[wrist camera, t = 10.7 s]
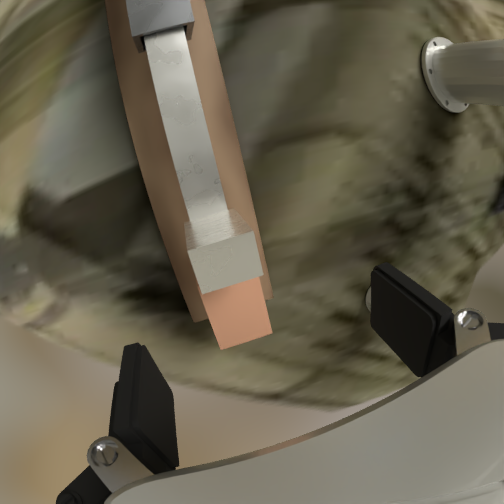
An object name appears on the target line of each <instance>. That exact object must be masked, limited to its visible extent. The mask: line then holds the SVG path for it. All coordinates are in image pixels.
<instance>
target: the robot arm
mask: <svg viewBox="0 0 504 504" xmlns="http://www.w3.org/2000/svg"><path fill="white" fill-rule="evenodd" d="M422 69H423V74H424V78H425V81H426V83H427V86H428V88H429V90H430V92H431V94H432V96H433V97H434V99H435V100H436V102H437V103H438V104H439V105H440V106H441V107H442V108H444V109H445V110H447V111H449V112H462V111H464V110H465V109H466V108H467V107H468V105H469V104H485V105H497V106H504V39H498V40H485V41H474V42H466V43H458V44H453V43H452V42H451V41H449V40H448V39H445V38H443V37H435V38H431V39H429V40H428V41H427V42H426V43H425V45H424V47H423V50H422ZM371 326H372V328H373V329H374V330H375V331H376V333H377V334H378V335H379V336H380V337H381V338H382V339H383V340H384V341H385V342H386V343H387V344H388V345H389V347H390V348H391V349H392V350H393V351H394V352H395V353H396V354H397V355H398V356H399V357H400V359H401V360H402V361H403V362H404V363H405V364H406V365H407V366H408V367H409V368H410V370H411V371H412V372H413V373H414V374H415V375H416V376H417V377H421V378H420V379H419V380H417V381H415V382H414V383H412V384H410V385H408V386H407V387H405V388H403V389H401V390H400V391H398V392H396V393H394V394H392V395H391V396H389V397H387V398H385V399H383V400H381V401H379V402H377V403H375V404H373V405H371V406H369V407H367V408H365V409H363V410H361V411H359V412H357V413H354V414H352V415H350V416H348V417H346V418H344V419H342V420H339V421H337V422H334V423H332V424H330V425H327V426H325V427H322V428H320V429H318V430H315V431H312V432H310V433H307V434H304V435H302V436H299V437H296V438H294V439H291V440H288V441H285V442H282V443H279V444H276V445H273V446H270V447H267V448H264V449H260V450H257V451H253V452H250V453H246V454H243V455H239V456H235V457H232V458H228V459H223V460H219V461H215V462H212V463H207V464H202V465H198V466H193V467H188V468H183V469H178V470H176V468H175V467H178V466H179V458H178V448H177V437H176V426H175V414H174V399H173V393H172V391H171V389H170V387H169V385H168V384H167V382H166V380H165V379H164V377H163V376H162V374H161V372H160V371H159V369H158V367H157V365H156V364H155V362H154V360H153V359H152V357H151V355H150V353H149V351H148V350H147V348H146V346H145V345H142V346H141V345H140V344H139V343H134V344H130V345H126V346H124V350H123V356H122V362H121V369H120V376H119V381H118V382H116V383H115V386H114V392H113V400H112V408H111V416H110V425H109V435H108V436H105V437H101V438H99V439H97V440H95V441H94V442H93V443H92V444H91V446H90V448H89V449H88V453H87V460H88V463H89V466H88V467H87V468H86V469H85V470H84V471H83V472H82V473H81V474H80V475H79V476H78V477H77V478H76V479H75V480H74V481H72V482H71V483H70V484H69V485H68V486H67V487H66V488H65V489H64V490H63V491H62V492H61V493H60V494H59V495H58V497H57V500H56V504H504V323H487V320H486V317H485V316H484V315H483V314H482V313H481V312H480V311H478V310H475V309H472V308H465V309H461V310H459V311H458V312H456V314H455V315H454V314H453V313H452V309H451V308H450V307H448V306H447V305H446V304H444V303H443V302H442V301H440V300H439V299H438V298H436V297H435V296H434V295H432V294H431V293H430V292H428V291H427V290H426V289H424V288H423V287H422V286H420V285H419V284H417V283H416V282H415V281H413V280H412V279H411V278H409V277H408V276H406V275H405V274H403V273H402V272H401V271H399V270H398V269H396V268H395V267H394V266H392V265H391V264H389V263H387V262H385V263H383V264H380V265H378V266H375V267H374V269H373V271H372V272H371Z"/></svg>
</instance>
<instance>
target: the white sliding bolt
mask: <svg viewBox="0 0 504 504" xmlns="http://www.w3.org/2000/svg"><path fill="white" fill-rule="evenodd" d="M144 41H145V45H146V50H147V55H148V60H149V64H150V69H151V73H152V78H153V82H154V87H155V91H156V95H157V100H158V104H159V108H160V112H161V116H162V120H163V124H164V128H165V132H166V136H167V140H168V144H169V147H170V151H171V155H172V159H173V162H174V166H175V170H176V173H177V177H178V181H179V184H180V188H181V191H182V195H183V198H184V202H185V205H186V209H187V212H188V215H189V219H190V221H189V222H185V223H184V228H185V236H186V244H187V252H188V255H189V258H190V261H191V264H192V267H193V269H194V272H195V275H196V278H197V281H198V284H199V287H200V290H201V293H202V294H205V293H208V292H212V291H215V290H218V289H221V288H225V287H228V286H231V285H234V284H237V283H240V282H244V281H247V280H250V279H253V278H256V277H259V276H262V275H264V274H263V270H262V266H261V261H260V257H259V253H258V248H257V244H256V240H255V235H254V231H253V230H252V229H251V227H250V226H249V225H248V224H247V223H246V222H245V220H244V219H243V218H242V217H241V216H240V215H239V213H238V212H237V211H236V210H235V209H234V208H233V209H229V210H228V209H227V205H226V201H225V197H224V193H223V189H222V185H221V181H220V177H219V173H218V169H217V165H216V161H215V157H214V153H213V149H212V145H211V141H210V137H209V133H208V129H207V125H206V120H205V116H204V112H203V108H202V104H201V100H200V96H199V91H198V87H197V83H196V79H195V75H194V70H193V66H192V62H191V58H190V53H189V49H188V45H187V40H186V36H185V32H184V27H183V26H180V27H175V28H171V29H167V30H163V31H159V32H155V33H151V34H148V35H144Z"/></svg>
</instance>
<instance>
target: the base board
mask: <svg viewBox="0 0 504 504" xmlns="http://www.w3.org/2000/svg"><path fill="white" fill-rule="evenodd" d="M190 3H191V8H192V12H193V16H194V20H195V22H194V27H193V32H192V38H191V40H189V41H187V45H188V49H189V53H190V58H191V62H192V66H193V70H194V75H195V79H196V83H197V87H198V91H199V96H200V100H201V104H202V108H203V112H204V116H205V120H206V125H207V129H208V133H209V137H210V141H211V145H212V149H213V153H214V157H215V161H216V165H217V169H218V173H219V177H220V181H221V185H222V189H223V193H224V197H225V201H226V205H227V209H228V210H229V209H233V208H234V209H235V210H236V211H237V212H238V213H239V215H240V216H241V217H242V218H243V219H244V220H245V222H246V223H247V224H248V225H249V226H250V227H251V229H252V230H253V231H254V235H255V240H256V244H257V248H258V253H259V257H260V261H261V266H262V270H263V274H264V275H262V276H259V279H260V283H261V287H262V291H263V295H264V300H268V299H271V298H274V297H273V293H272V288H271V284H270V279H269V274H268V270H267V265H266V261H265V256H264V252H263V247H262V243H261V238H260V234H259V229H258V225H257V220H256V216H255V211H254V207H253V203H252V198H251V194H250V189H249V185H248V181H247V176H246V172H245V168H244V163H243V159H242V155H241V150H240V146H239V142H238V137H237V133H236V129H235V125H234V120H233V116H232V112H231V108H230V103H229V99H228V95H227V91H226V87H225V82H224V78H223V74H222V70H221V66H220V62H219V58H218V53H217V49H216V45H215V41H214V37H213V33H212V29H211V25H210V21H209V17H208V13H207V9H206V5H205V1H204V0H190ZM105 5H106V12H107V19H108V26H109V32H110V38H111V44H112V50H113V55H114V60H115V66H116V71H117V76H118V80H119V85H120V90H121V94H122V99H123V103H124V107H125V112H126V116H127V120H128V124H129V128H130V132H131V136H132V140H133V143H134V147H135V151H136V154H137V158H138V162H139V165H140V169H141V172H142V176H143V179H144V182H145V186H146V189H147V192H148V196H149V199H150V202H151V205H152V208H153V212H154V215H155V218H156V221H157V224H158V227H159V230H160V233H161V236H162V239H163V242H164V245H165V247H166V250H167V253H168V256H169V259H170V262H171V264H172V267H173V270H174V273H175V275H176V278H177V281H178V283H179V286H180V289H181V291H182V294H183V296H184V299H185V302H186V304H187V307H188V309H189V312H190V314H191V317H192V319H193V322H194V323H196V322H199V321H202V320H206V319H209V318H208V315H207V312H206V309H205V307H204V304H203V301H202V298H201V296H200V293H199V290H198V287H197V282H196V277H195V272H194V269H193V267H192V264H191V261H190V258H189V255H188V252H187V244H186V236H185V228H184V223H185V222H189V221H190V219H189V215H188V212H187V209H186V205H185V202H184V198H183V195H182V191H181V188H180V184H179V181H178V177H177V173H176V170H175V166H174V162H173V159H172V155H171V151H170V147H169V144H168V140H167V136H166V132H165V128H164V124H163V120H162V116H161V112H160V108H159V104H158V100H157V95H156V91H155V87H154V82H153V78H152V73H151V69H150V64H149V60H148V55H147V51H146V52H142V53H138V50H137V48H136V45H135V43H134V40H133V38H132V34H131V29H130V23H129V17H128V12H127V6H126V0H105Z"/></svg>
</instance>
